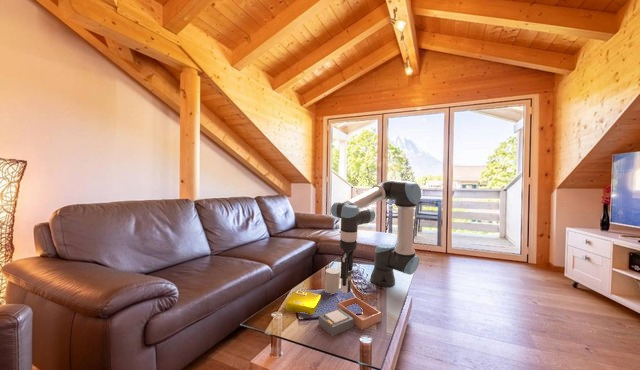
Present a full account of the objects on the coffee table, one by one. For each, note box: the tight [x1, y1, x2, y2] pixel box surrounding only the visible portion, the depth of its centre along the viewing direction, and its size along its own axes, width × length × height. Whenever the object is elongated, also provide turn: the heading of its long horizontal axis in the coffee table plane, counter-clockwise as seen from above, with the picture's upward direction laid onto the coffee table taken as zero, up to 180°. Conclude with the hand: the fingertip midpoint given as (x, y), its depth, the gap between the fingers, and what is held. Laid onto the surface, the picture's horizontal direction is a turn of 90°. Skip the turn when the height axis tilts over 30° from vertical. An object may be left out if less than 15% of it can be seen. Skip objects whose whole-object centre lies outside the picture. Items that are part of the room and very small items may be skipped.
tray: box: [336, 296, 382, 331], centre depth 134 cm, size 12×17×4 cm
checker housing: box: [318, 309, 354, 337], centre depth 126 cm, size 12×10×5 cm
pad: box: [324, 309, 348, 325], centre depth 126 cm, size 7×7×3 cm
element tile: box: [285, 289, 322, 314], centre depth 142 cm, size 15×15×5 cm
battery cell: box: [340, 269, 353, 293], centre depth 127 cm, size 4×4×10 cm
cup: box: [324, 267, 341, 293], centre depth 158 cm, size 8×8×12 cm
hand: (345, 289), depth 128 cm, fingers closed on battery cell, 4 cm apart
